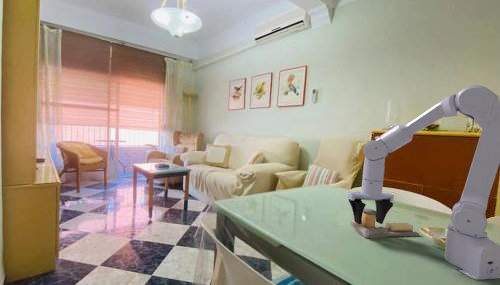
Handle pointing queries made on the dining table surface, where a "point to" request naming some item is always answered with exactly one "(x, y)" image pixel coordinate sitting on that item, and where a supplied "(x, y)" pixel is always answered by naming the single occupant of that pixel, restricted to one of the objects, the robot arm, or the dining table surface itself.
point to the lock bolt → (399, 227)
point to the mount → (378, 231)
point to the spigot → (369, 218)
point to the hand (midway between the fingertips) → (368, 222)
